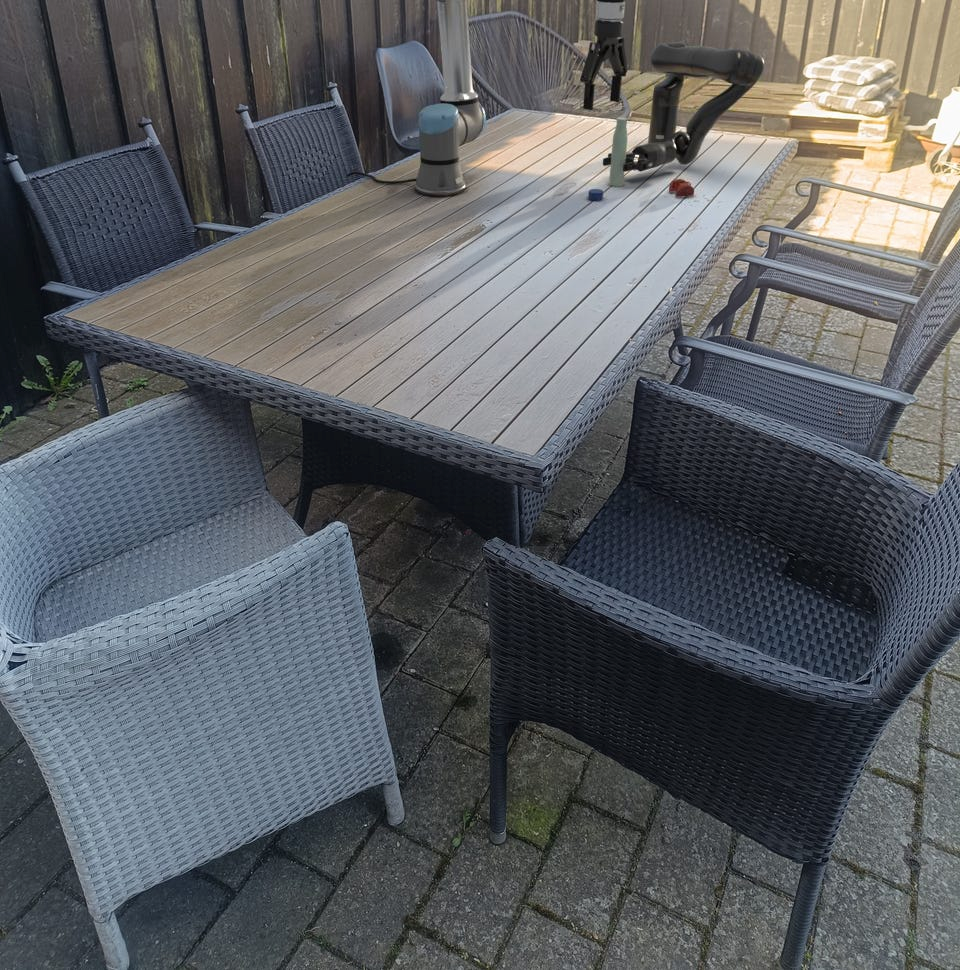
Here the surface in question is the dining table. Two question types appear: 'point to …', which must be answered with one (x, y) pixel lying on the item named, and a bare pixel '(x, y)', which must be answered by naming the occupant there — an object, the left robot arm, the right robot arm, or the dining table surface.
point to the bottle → (618, 152)
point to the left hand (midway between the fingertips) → (601, 105)
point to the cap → (595, 194)
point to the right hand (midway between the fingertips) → (613, 165)
